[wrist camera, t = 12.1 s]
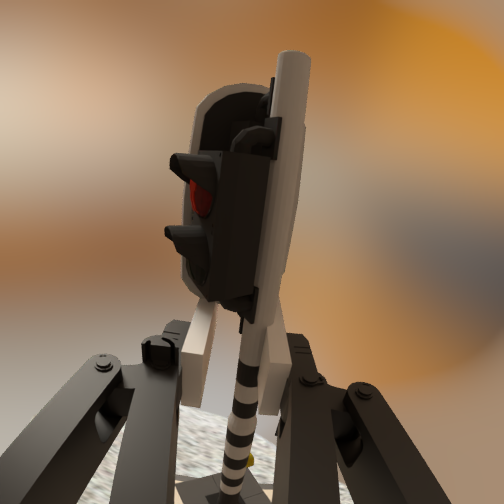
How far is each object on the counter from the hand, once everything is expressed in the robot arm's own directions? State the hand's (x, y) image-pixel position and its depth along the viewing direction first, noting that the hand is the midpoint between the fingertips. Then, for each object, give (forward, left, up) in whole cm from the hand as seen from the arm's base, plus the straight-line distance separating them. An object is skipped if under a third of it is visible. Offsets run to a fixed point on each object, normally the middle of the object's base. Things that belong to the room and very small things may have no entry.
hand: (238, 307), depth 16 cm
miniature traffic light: (+1, -3, -18) cm, 18 cm away
